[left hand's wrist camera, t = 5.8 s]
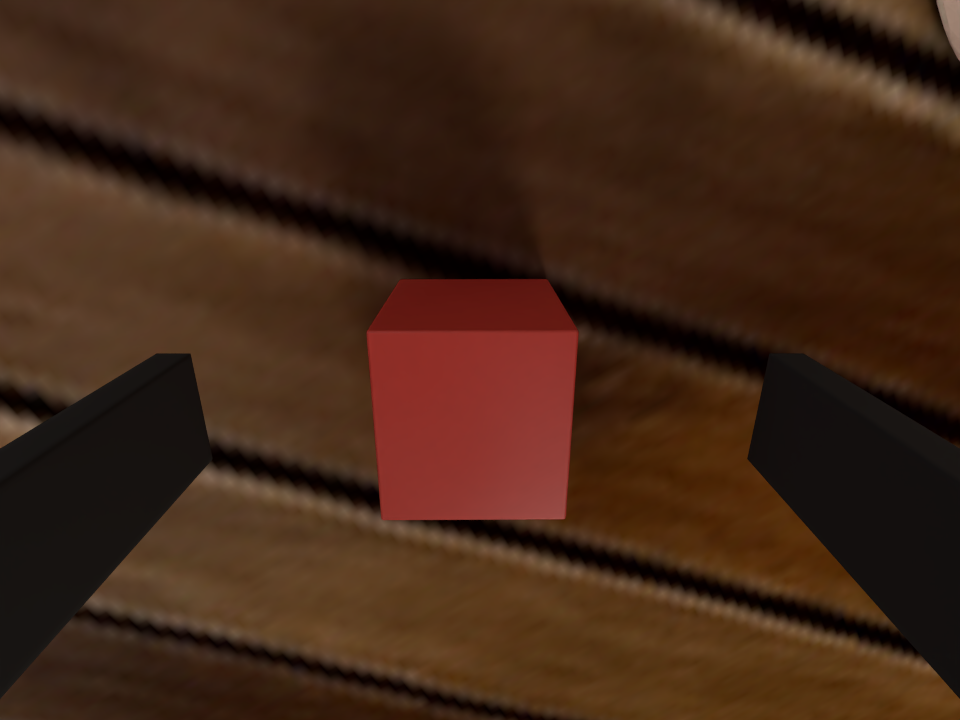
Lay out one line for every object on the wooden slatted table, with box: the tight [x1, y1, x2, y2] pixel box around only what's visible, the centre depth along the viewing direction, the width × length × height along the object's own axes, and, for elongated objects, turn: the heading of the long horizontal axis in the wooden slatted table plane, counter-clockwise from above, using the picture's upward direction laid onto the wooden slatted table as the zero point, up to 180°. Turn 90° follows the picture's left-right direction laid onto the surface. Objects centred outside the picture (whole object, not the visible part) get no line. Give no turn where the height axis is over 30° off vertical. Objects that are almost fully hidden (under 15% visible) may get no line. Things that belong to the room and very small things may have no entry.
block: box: [367, 279, 579, 520], centre depth 14 cm, size 4×5×5 cm
